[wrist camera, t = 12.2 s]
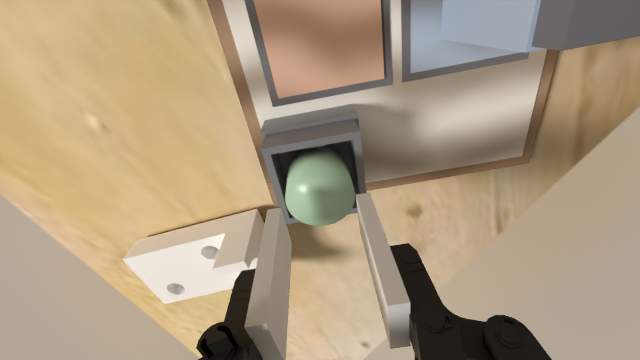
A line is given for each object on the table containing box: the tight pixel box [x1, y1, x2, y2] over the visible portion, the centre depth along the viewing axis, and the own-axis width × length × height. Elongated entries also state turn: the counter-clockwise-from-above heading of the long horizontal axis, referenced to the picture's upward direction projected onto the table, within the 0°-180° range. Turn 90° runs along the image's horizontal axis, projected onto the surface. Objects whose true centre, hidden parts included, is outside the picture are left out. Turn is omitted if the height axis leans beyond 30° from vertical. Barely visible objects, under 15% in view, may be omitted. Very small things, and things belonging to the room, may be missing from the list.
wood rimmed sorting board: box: [207, 0, 558, 207], centre depth 20 cm, size 20×24×1 cm
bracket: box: [122, 209, 265, 304], centre depth 26 cm, size 13×7×8 cm, turn 106°
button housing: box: [260, 104, 367, 225], centre depth 21 cm, size 7×7×5 cm
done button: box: [285, 147, 355, 226], centre depth 18 cm, size 4×4×3 cm
